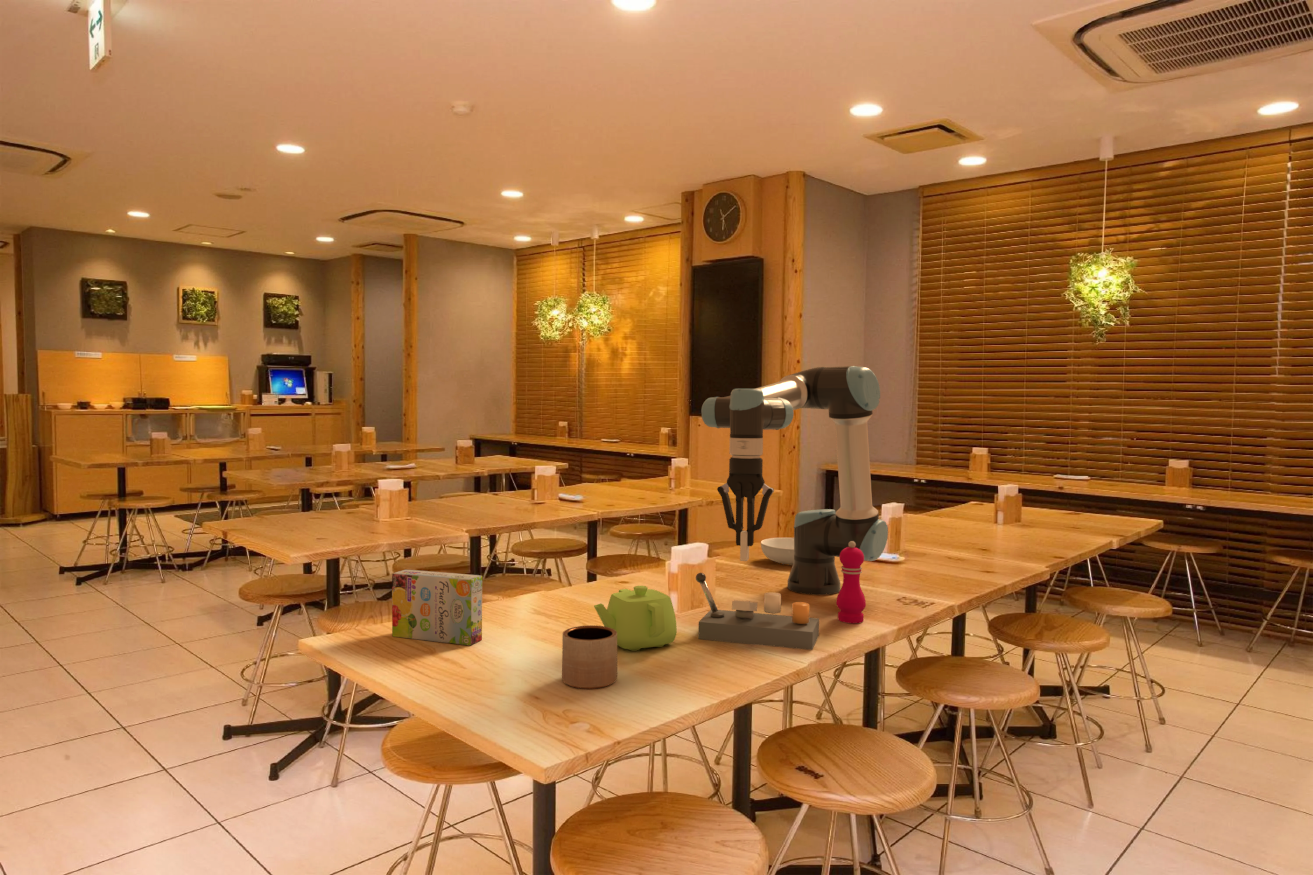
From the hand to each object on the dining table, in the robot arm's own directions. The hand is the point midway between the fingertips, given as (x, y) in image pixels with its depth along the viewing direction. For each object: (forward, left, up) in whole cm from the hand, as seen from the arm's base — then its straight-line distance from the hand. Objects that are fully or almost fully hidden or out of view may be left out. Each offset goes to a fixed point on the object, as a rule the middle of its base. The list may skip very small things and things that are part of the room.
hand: (744, 559), depth 189 cm
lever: (-4, -8, -14) cm, 16 cm away
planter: (+36, -23, -19) cm, 47 cm away
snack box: (+21, -67, -19) cm, 73 cm away
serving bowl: (-94, -3, -19) cm, 96 cm away
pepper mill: (-26, +22, -19) cm, 39 cm away
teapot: (+11, -23, -19) cm, 32 cm away
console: (-4, +3, -19) cm, 19 cm away
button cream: (-4, +6, -12) cm, 14 cm away
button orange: (-4, +12, -14) cm, 19 cm away
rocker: (-4, -1, -13) cm, 13 cm away
